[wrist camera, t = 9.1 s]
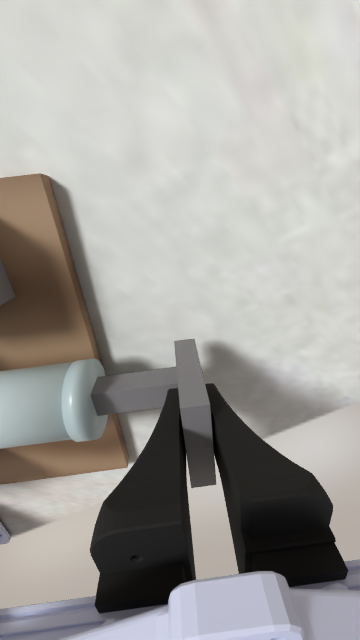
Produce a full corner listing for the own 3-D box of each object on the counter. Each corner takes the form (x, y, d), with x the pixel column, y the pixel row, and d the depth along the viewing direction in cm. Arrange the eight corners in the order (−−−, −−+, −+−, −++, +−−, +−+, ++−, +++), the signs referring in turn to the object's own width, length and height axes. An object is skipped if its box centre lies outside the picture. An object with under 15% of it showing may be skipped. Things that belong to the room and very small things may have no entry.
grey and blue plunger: (198, 391, 18) (216, 484, 12) (-33, 421, 18) (-138, 531, 12) (192, 329, 16) (210, 404, 10) (-70, 363, 16) (-220, 460, 10)
